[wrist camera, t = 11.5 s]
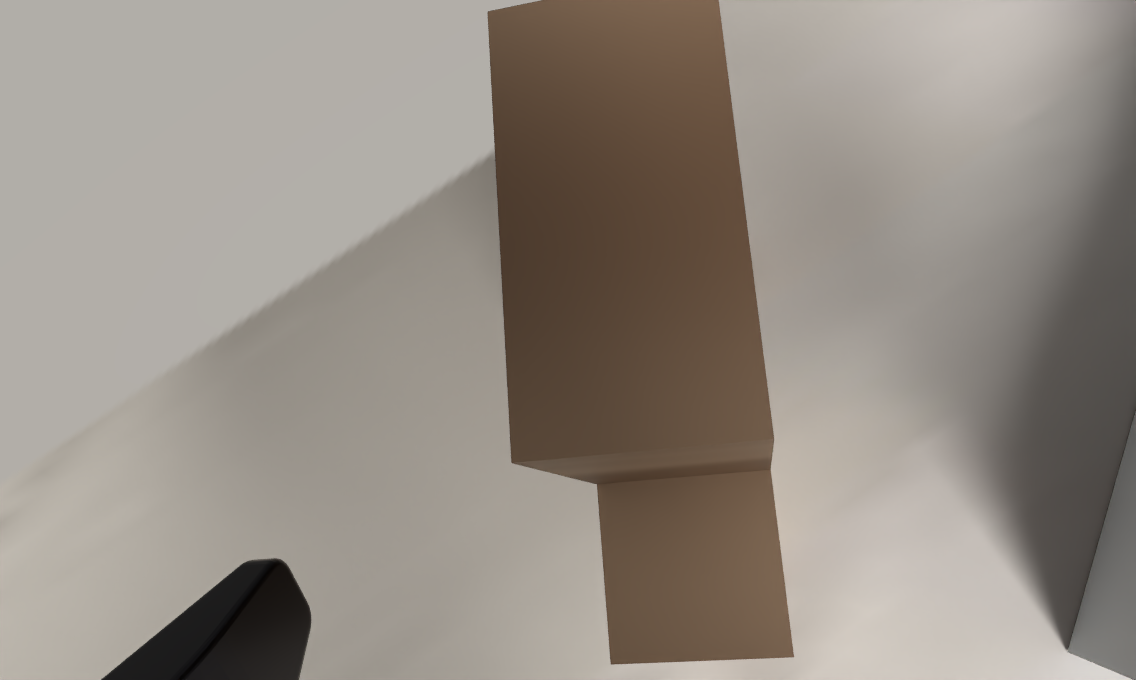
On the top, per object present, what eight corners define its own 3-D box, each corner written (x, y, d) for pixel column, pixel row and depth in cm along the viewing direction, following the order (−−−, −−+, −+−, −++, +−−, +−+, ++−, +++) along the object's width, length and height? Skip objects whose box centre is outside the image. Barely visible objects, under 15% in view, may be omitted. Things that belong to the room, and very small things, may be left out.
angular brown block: (779, 592, 18) (812, 735, 6) (683, 598, 18) (526, 741, 6) (735, 234, 19) (690, -229, 7) (649, 246, 20) (478, -175, 8)
